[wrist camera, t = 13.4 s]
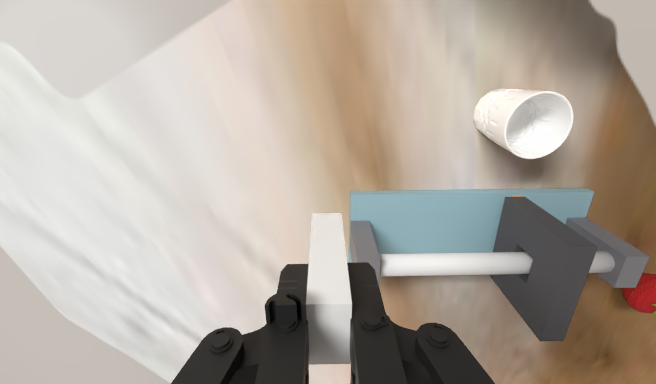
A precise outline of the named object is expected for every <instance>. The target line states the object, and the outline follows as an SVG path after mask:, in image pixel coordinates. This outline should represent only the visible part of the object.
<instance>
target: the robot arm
mask: <svg viewBox="0 0 656 384" xmlns="http://www.w3.org/2000/svg"><path fill="white" fill-rule="evenodd" d="M265 312H266V322H267V324H266V325H265V326H264V327H262V328H261V329H259V330H257V331H254V332H251V333H247V334H244V335H242V334H241V333H240V332H239V331H238V330H237V329H234V328H220V329H217V330H214V331H213V332H211V333H209V334H208V335H207V336H206V337H205V338H204V339H203V340H202V341H201V343H200V344H199V345H198V347H197V348H196V350H195V351H194V352H193V354H192V355H191V357H190V358H189V359H188V361H187V362H186V364H185V365H184V366H183V368H182V369H181V370H180V372H179V373H178V375H177V376H176V377H175V379H174V380H173V382H172V383H171V384H309V370H308V367H309V364H350V360H351V384H495V383H494V382H493V380H492V379H491V378H490V377H489V375H488V374H487V373H486V372H485V370H484V369H483V368H482V366H481V365H480V364H479V363H478V361H477V360H476V359H475V358H474V356H473V355H472V354H471V352H470V351H469V350H468V349H467V347H466V346H465V345H464V344H463V342H462V341H461V340H460V339H459V337H458V336H457V335H456V334H455V333H454V332H453V331H452V330H451V329H450V328H448V327H446V326H444V325H442V324H437V323H426V324H424V325H421V326H420V327H419V329H418V330H417V331H415V330H411V329H407V328H403V327H400V326H398V325H397V324H395V323H393V322H392V321H391V320H390V318H389V317H388V316H387V315H386V313H385V309H384V305H383V301H382V297H381V293H380V289H379V286H378V281H377V277H376V273H375V269H374V268H373V267H372V266H371V265H370V264H369V263H368V262H356V263H347V257H346V249H345V241H344V232H343V224H342V215H341V213H314V214H312V222H311V237H310V251H309V264H287V265H286V266H285V268H284V269H283V270H282V271H281V274H280V279H279V285H278V290H277V294H275V295H273V296H272V297H270V298H269V299H268V300H267V302H266V304H265Z"/></svg>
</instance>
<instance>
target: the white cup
mask: <svg viewBox="0 0 656 384" xmlns="http://www.w3.org/2000/svg"><path fill="white" fill-rule="evenodd" d="M573 118H574V116H573V109H572V106H571V104H570V102H569V101H568V100H567V99H566V98H565V97H564V96H563V95H561V94H559V93H556V92H551V91H538V90H526V89H498V90H494V91H490V92H489V93H488V94H486V95H485V96H484V97H482V98H481V99H480V101H479V103H478V104H477V106H476V107H475V111H474V118H473V119H474V122H475V125H476V128H477V129H478V130H479V131H480V132H481V133H482V134H484V135H485V136H487V137H488V138H489V139H491V140H492V141H494V142H495V143H497V144H498V145H500V146H501V147H503V148H505V149H506V150H508V151H510V152H511V153H513V154H515V155H516V156H518V157H521V158H524V159H536V158H541V157H544V156H546V155H548V154H550V153H552V152H553V151H555V150H556V149H557V148H558V147H560V146H561V145H562V143H563V142H564V141H565V140H566V138H567V137H568V135H569V133H570V131H571V128H572V125H573Z"/></svg>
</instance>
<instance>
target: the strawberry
mask: <svg viewBox="0 0 656 384" xmlns="http://www.w3.org/2000/svg"><path fill="white" fill-rule="evenodd" d="M622 292H623V297H624V298H625V300H626V301H627V303H628V304H629V306H630V307H632V308H634V309H636V310H637V311H639V312H643V313H652V314H655V313H656V274H648V273H642V275H641V277H640V279H639V282H638V284H637V286H636V288H622Z"/></svg>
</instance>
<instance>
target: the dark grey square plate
mask: <svg viewBox="0 0 656 384" xmlns="http://www.w3.org/2000/svg"><path fill="white" fill-rule="evenodd" d="M597 249H598V247H597V246H596V245H594V244H593V243H591V242H590V241H589V240H587V239H586V238H584V237H583V236H581V235H580V234H578V233H577V232H576V231H574V230H573V229H571V228H570V227H568V226H567V225H565V224H564V223H562V222H561V221H560V220H558V219H557V218H555V217H554V216H552V215H551V214H549V213H548V212H547V211H545V210H544V209H542V208H541V207H539V206H538V205H536V204H535V203H533V202H532V201H531V200H529V199H528V198H526V197H505V200H504V204H503V209H502V213H501V217H500V222H499V226H498V231H497V235H496V240H495V244H494V249H493V252H526V253H527V254H528V255H529V256H530V257H531V258H532V259H533V262H532V265H531V269H530V272H529V274H496V275H490V276H491V278H492V279H493V280H494V282H495V283H496V284H497V286H498V287H499V288H500V290H501V291H502V292H503V293H504V295H505V296H506V297H507V299H508V300H509V301H510V303H511V304H512V305H513V307H514V308H515V309H516V310H517V312H518V313H519V314H520V316H521V317H522V318H523V320H524V321H525V322H526V324H527V325H528V326H529V327H530V329H531V330H532V331H533V333H534V334H535V335H536V337H537V338H538V339H539V341H563V340H564V337H565V335H566V332H567V329H568V327H569V324H570V321H571V319H572V316H573V313H574V311H575V308H576V305H577V303H578V300H579V297H580V294H581V292H582V289H583V286H584V284H585V281H586V278H587V276H588V273H589V270H590V268H591V265H592V262H593V260H594V257H595V254H596V251H597Z"/></svg>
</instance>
